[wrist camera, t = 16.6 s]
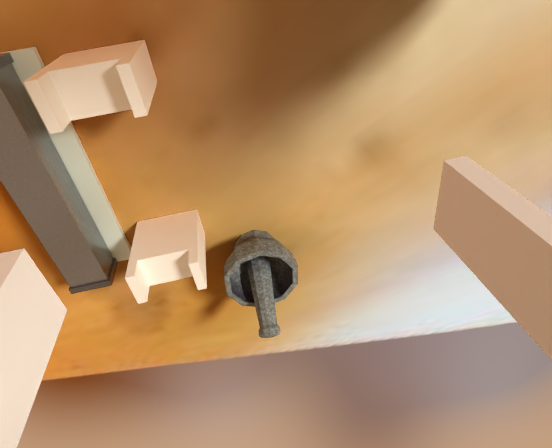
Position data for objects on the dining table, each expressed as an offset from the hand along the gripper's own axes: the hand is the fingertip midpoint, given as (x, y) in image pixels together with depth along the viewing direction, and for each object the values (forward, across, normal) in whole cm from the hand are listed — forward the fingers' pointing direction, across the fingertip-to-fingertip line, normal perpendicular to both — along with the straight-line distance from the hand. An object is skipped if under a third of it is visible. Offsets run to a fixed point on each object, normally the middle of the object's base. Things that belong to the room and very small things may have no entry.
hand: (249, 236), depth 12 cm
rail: (+31, -20, -10) cm, 38 cm away
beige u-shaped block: (+32, -10, -20) cm, 39 cm away
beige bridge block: (+32, -10, 0) cm, 33 cm away
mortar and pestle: (+32, 0, -27) cm, 42 cm away
